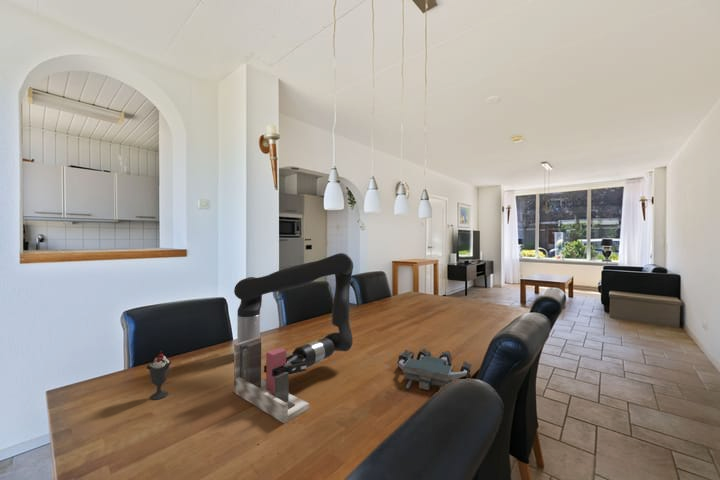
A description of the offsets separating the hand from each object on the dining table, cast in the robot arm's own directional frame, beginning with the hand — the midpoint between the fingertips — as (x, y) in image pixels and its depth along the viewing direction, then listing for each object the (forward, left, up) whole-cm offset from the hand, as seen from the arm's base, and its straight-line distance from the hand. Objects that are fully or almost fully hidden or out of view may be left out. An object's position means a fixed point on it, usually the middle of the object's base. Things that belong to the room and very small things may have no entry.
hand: (268, 371), depth 93 cm
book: (0, +3, -6) cm, 7 cm away
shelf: (0, +1, -9) cm, 9 cm away
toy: (+24, +54, -10) cm, 60 cm away
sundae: (-26, -25, -10) cm, 37 cm away
